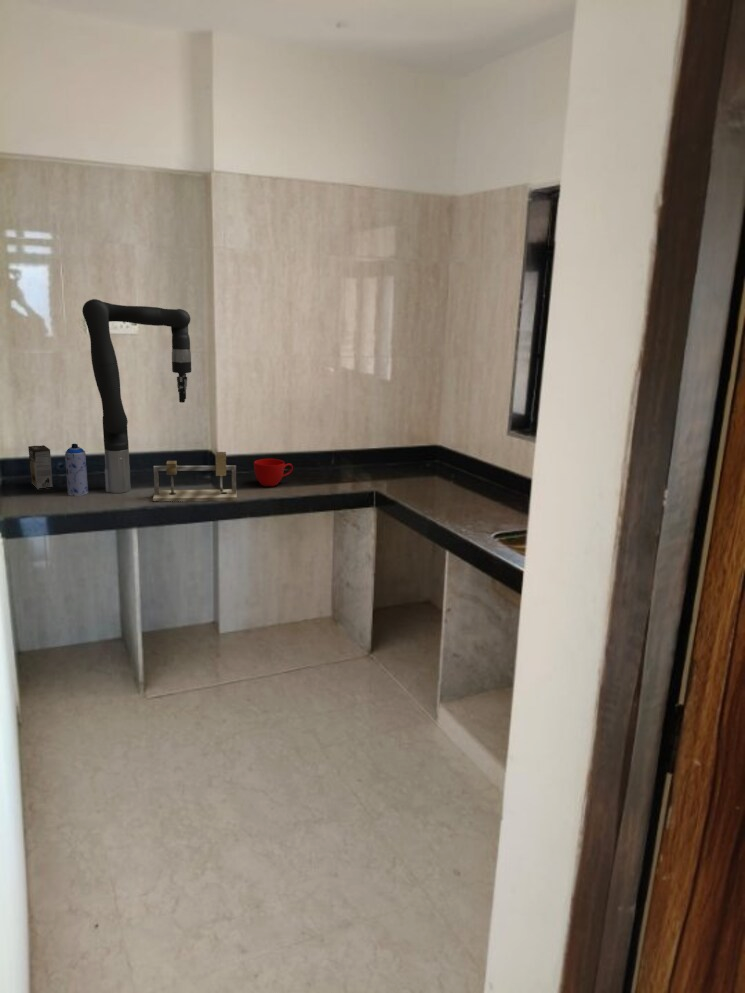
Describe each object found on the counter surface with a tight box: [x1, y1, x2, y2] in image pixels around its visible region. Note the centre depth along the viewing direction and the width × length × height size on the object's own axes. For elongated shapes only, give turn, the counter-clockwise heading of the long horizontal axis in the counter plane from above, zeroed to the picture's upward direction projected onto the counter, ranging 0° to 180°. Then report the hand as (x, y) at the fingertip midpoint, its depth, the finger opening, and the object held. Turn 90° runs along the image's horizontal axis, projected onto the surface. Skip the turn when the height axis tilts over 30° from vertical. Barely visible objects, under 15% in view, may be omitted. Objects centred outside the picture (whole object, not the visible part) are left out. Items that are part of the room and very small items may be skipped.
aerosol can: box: [64, 443, 89, 496], centre depth 295 cm, size 8×8×20 cm
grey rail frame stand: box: [152, 460, 238, 503], centre depth 296 cm, size 32×12×14 cm, turn 101°
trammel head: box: [215, 451, 227, 492], centre depth 298 cm, size 4×5×16 cm
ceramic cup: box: [253, 458, 294, 487], centre depth 321 cm, size 13×17×10 cm
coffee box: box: [28, 444, 54, 490], centre depth 303 cm, size 9×6×16 cm
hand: (182, 400), depth 304 cm, fingers open, 8 cm apart
